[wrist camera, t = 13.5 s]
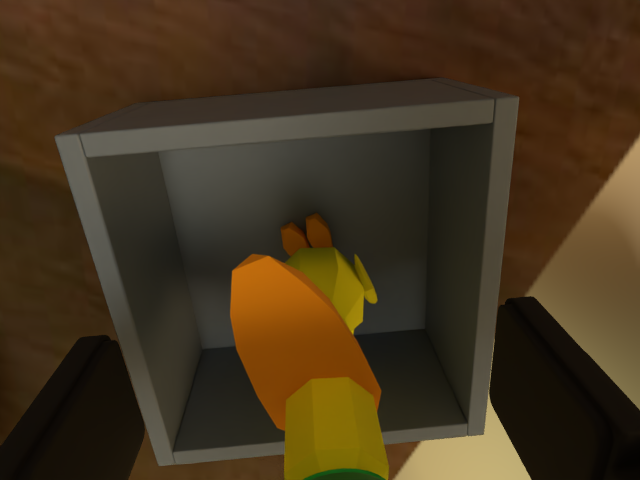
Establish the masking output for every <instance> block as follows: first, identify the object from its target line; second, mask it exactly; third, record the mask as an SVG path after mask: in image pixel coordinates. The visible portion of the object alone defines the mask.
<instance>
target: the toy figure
mask: <svg viewBox="0 0 640 480" xmlns="http://www.w3.org/2000/svg"><path fill="white" fill-rule="evenodd" d="M306 230H307V238H308V240H309V242H310V244H311V245H312V246H313V247H314V248H310V246H309V243H308V240H307V238H306V236H305V234H304V232H303V231H302V230H301V229H300V228H298V227H297V226H296V225H295V224H294V223H293V222H290V223H288V224H286V225H284V226H282V227H281V235H282V242H283V248H284V249H285V250H286V252H287V253H288V254H289V255H290V256H291V257H290V258H289V259H288V260H287V261H286V262H285V263H283V262H281V261H279V260H277V259H274V258H272V257H270V256H267V255H258V254H252V255H250V256H249V257H248V258H247V259H245V260H244V261H243V262H242V263H241V264H240V265H238V266H237V267H236V268H235V269H234V270H232V285H231V306H230V317H231V323H232V328H233V333H234V339H235V344H236V350H237V352H238V354H239V356H240V359H241V361H242V363H243V365H244V368H245V370H246V372H247V374H248V377H249V379H250V381H251V383H252V385H253V388H254V390H255V392H256V394H257V397H258V398H259V400H260V401H261V403H262V405H263V406H264V408H265V409H266V411H267V413H268V414H269V416H270V417H271V419H272V420H273V422H274V424H275V425H276V427H277V428H278V429H281V430H284V431H285V457H284V480H388V473H389V465H388V461H387V456H386V452H385V447H384V443H383V438H382V434H381V429H380V425H379V420H378V415H377V410H378V405H379V401H380V396H381V389H380V386H379V384H378V382H377V380H376V378H375V376H374V374H373V372H372V370H371V368H370V366H369V364H368V362H367V360H366V358H365V356H364V354H363V352H362V350H361V348H360V346H359V344H358V341H357V340H356V338H355V337H354V329H355V328H356V327H357V326H358V325H359V324H360V323H362V322H363V305H364V297H365V299H366V300H367V301H368V302H369V303H372V304H375V303H376V302H377V301H378V300H377V294H376V292H375V289H374V286H373V284H372V282H371V280H370V278H369V276H368V274H367V272H366V270H365V268H364V266H363V264H362V263H361V261H360V259H359V258H358V256H357V255H356V254H355V255H354V261H355V265H354V264H353V263H352V262H350V261H349V260H348V259H347V258H346V257H345V256H344V255H343V254H341V253H340V252H339V251H338V250H337V249H336V248H335V247H333V243H332V238H331V232H330V229H329V227H328V224H327V223H326V222H325V221H324V220H323V219H322V217H321V216H320V215H319V214H318V213H315V214H312V215H310V216H307V217H306Z"/></svg>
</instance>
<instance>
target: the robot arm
mask: <svg viewBox="0 0 640 480" xmlns="http://www.w3.org/2000/svg"><path fill="white" fill-rule="evenodd" d="M489 394H490V400H491V404H492V406H493V408H494V410H495V412H496V414H497V416H498V418H499V420H500V421H501V423H502V425H503V427H504V429H505V431H506V432H507V435H508V436H509V438H510V440H511V442H512V444H513V446H514V448H515V449H516V451H517V453H518V455H519V457H520V459H521V461H522V463H523V464H524V466H525V468H526V470H527V472H528V474H529V475H530V477H531V479H532V480H640V410H639V409H638V408H637V407H636V405H635V404H633V402H632V401H631V400H630V399H629V398H628V397H627V396H626V395H625V394H624V393H623V391H622V390H621V389H620V388H619V387H618V386H617V385H616V384H615V383H614V382H613V381H612V380H611V379H610V377H609V376H608V375H607V374H606V373H605V372H604V371H603V370H602V369H601V368H600V367H599V366H598V365H597V363H596V362H595V361H594V360H593V359H592V358H591V357H590V356H589V355H588V354H587V353H586V352H585V351H584V350H583V349H582V348H581V347H580V346H579V345H578V344H577V343H576V342H575V341H574V340H573V338H572V337H571V336H570V335H569V334H568V333H567V332H566V331H565V330H564V329H563V328H562V327H561V325H560V324H559V323H558V322H557V321H556V320H555V319H554V318H553V317H552V316H551V315H550V314H549V313H548V311H547V310H546V309H545V308H544V307H543V306H542V305H541V304H540V303H539V302H538V301H537V299H535V298H534V297H531V296H530V297H519V298H509V299H507V300H506V302H505V305H501V306H499V308H498V315H497V324H496V333H495V342H494V352H493V361H492V370H491V380H490V389H489ZM144 431H145V428H144V422H143V419H142V416H141V413H140V409H139V406H138V403H137V400H136V397H135V394H134V391H133V388H132V384H131V381H130V378H129V375H128V372H127V369H126V366H125V363H124V359H123V356H122V353H121V350H120V347H119V344H118V342H117V341H115V340H113V341H111V339H110V337H109V336H107V335H100V336H89V337H81V338H79V339H78V340H77V342H76V343H75V344H74V346H73V347H72V349H71V350H70V351H69V353H68V354H67V355H66V357H65V358H64V360H63V361H62V362H61V364H60V365H59V367H58V368H57V369H56V371H55V372H54V373H53V375H52V376H51V378H50V379H49V380H48V382H47V383H46V385H45V386H44V387H43V389H42V390H41V391H40V393H39V394H38V396H37V397H36V398H35V400H34V401H33V403H32V404H31V405H30V407H29V408H28V409H27V411H26V412H25V414H24V415H23V416H22V418H21V419H20V421H19V422H18V423H17V425H16V426H15V427H14V429H13V430H12V432H11V433H10V434H9V436H8V437H7V439H6V440H5V441H4V443H3V444H2V445H1V447H0V480H128V478H129V476H130V473H131V470H132V468H133V465H134V463H135V460H136V457H137V455H138V452H139V449H140V447H141V444H142V441H143V438H144Z"/></svg>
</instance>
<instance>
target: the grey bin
mask: <svg viewBox="0 0 640 480" xmlns="http://www.w3.org/2000/svg"><path fill="white" fill-rule="evenodd" d="M518 105H519V97H518V96H514V95H510V94H506V93H502V92H498V91H495V90H491V89H487V88H483V87H479V86H475V85H471V84H467V83H463V82H459V81H455V80H451V79H447V78H431V79H419V80H407V81H395V82H383V83H371V84H359V85H347V86H335V87H323V88H311V89H299V90H287V91H275V92H263V93H251V94H239V95H227V96H215V97H203V98H191V99H179V100H167V101H155V102H143V103H135V104H133V105H130V106H128V107H125V108H123V109H120V110H118V111H115V112H113V113H110V114H108V115H105V116H103V117H100V118H98V119H95V120H93V121H90V122H88V123H86V124H83V125H81V126H78V127H76V128H73V129H71V130H68V131H66V132H63V133H61V134H58V135H56V136H55V141H56V144H57V147H58V150H59V154H60V157H61V160H62V163H63V166H64V169H65V173H66V176H67V179H68V182H69V185H70V188H71V191H72V195H73V198H74V201H75V204H76V207H77V210H78V213H79V217H80V220H81V223H82V226H83V229H84V232H85V236H86V239H87V242H88V245H89V248H90V251H91V254H92V258H93V261H94V264H95V267H96V270H97V273H98V277H99V280H100V283H101V286H102V289H103V292H104V295H105V299H106V302H107V305H108V308H109V311H110V314H111V317H112V321H113V324H114V327H115V330H116V333H117V336H118V340H119V343H120V346H121V349H122V352H123V355H124V358H125V362H126V365H127V368H128V371H129V374H130V377H131V381H132V384H133V387H134V390H135V393H136V396H137V399H138V403H139V406H140V409H141V412H142V415H143V418H144V421H145V425H146V428H147V431H148V434H149V437H150V440H151V444H152V447H153V450H154V453H155V456H156V459H157V462H158V465H159V466H164V465H174V464H175V463H176V464H177V465H178V464H188V463H198V462H208V461H219V460H229V459H239V458H249V457H260V456H270V455H280V454H285V431H284V430H281V429H278V428H277V427H276V425H275V424H274V422H273V420H272V419H271V417H270V416H269V414H268V413H267V411H266V409H265V408H264V406H263V405H262V403H261V401H260V400H259V398H258V397H257V394H256V392H255V390H254V388H253V385H252V383H251V381H250V379H249V377H248V374H247V372H246V370H245V368H244V365H243V363H242V361H241V359H240V356H239V354H238V352H237V350H236V344H235V339H234V333H233V328H232V323H231V317H230V306H231V285H232V270H234V269H235V268H236V267H237V266H238V265H240V264H241V263H242V262H243V261H244V260H245V259H247V258H248V257H249V256H250V255H252V254H258V255H267V256H270V257H272V258H274V259H277V260H279V261H281V262H283V263H285V262H286V261H287V260H288V259H289V258H290V257H291V256H290V255H289V254H288V253H287V252H286V250H285V249H284V248H283V242H282V235H281V227H282V226H284V225H286V224H288V223H290V222H293V223H294V224H295V225H296V226H297V227H298V228H300V229H301V230H302V231H303V232H304V234H305V236H306V238H307V230H306V217H307V216H310V215H312V214H315V213H318V214H319V215H320V216H321V217H322V219H323V220H324V221H325V222H326V223H327V224H328V227H329V229H330V232H331V238H332V243H333V247H335V248H336V249H337V250H338V251H339V252H340V253H341V254H343V255H344V256H345V257H346V258H347V259H348V260H349V261H350V262H352V263H353V264H354V265H355V261H354V255H355V254H356V255H357V256H358V258H359V259H360V261H361V263H362V264H363V266H364V268H365V270H366V272H367V274H368V276H369V278H370V280H371V282H372V284H373V286H374V289H375V292H376V294H377V300H378V301H377V302H376V303H375V304H372V303H369V302H368V301H367V300H366V299H365V297H364V305H363V322H362V323H360V324H359V325H358V326H357V327H356V328H355V329H354V337H355V338H356V340H357V341H358V344H359V346H360V348H361V350H362V352H363V354H364V356H365V358H366V360H367V362H368V364H369V366H370V368H371V370H372V372H373V374H374V376H375V378H376V380H377V382H378V384H379V386H380V389H381V396H380V401H379V405H378V410H377V415H378V420H379V425H380V429H381V434H382V438H383V443H384V444H393V443H403V442H414V441H424V440H434V439H444V438H454V437H464V436H476V435H483V434H484V428H485V418H486V409H487V399H488V390H489V381H490V371H491V362H492V352H493V343H494V333H495V324H496V314H497V305H498V295H499V286H500V276H501V267H502V257H503V248H504V238H505V229H506V219H507V210H508V200H509V191H510V181H511V172H512V162H513V153H514V143H515V134H516V124H517V115H518ZM307 240H308V238H307ZM308 243H309V246H310V248H314V247H313V246H312V245H311V244H310V242H309V240H308Z"/></svg>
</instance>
